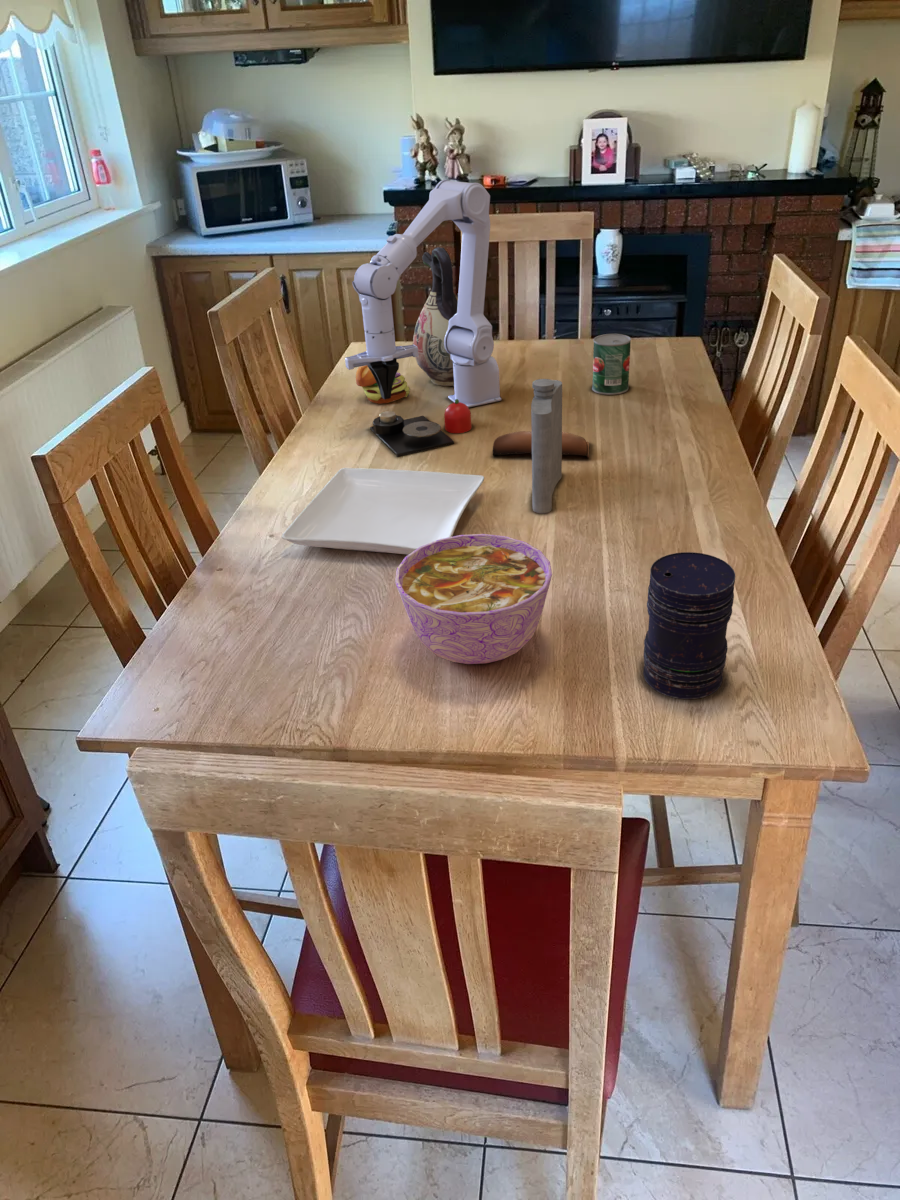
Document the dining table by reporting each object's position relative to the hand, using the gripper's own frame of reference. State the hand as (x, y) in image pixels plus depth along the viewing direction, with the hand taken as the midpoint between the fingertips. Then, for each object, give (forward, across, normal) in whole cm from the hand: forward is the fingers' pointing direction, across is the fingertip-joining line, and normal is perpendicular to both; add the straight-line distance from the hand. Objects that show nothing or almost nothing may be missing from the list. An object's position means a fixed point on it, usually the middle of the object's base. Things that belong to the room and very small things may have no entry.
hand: (386, 397), depth 184 cm
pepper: (+8, +13, -6) cm, 16 cm away
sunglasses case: (+8, +22, -24) cm, 34 cm away
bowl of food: (+8, -16, -76) cm, 79 cm away
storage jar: (+8, +4, -94) cm, 95 cm away
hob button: (+5, 0, 0) cm, 5 cm away
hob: (+7, +3, -4) cm, 9 cm away
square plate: (+8, -14, -38) cm, 41 cm away
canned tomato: (+8, +51, -2) cm, 52 cm away
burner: (+5, +4, -7) cm, 10 cm away
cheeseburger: (+8, +6, +20) cm, 22 cm away
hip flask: (+8, +14, -40) cm, 43 cm away
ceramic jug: (+8, +23, +22) cm, 32 cm away
